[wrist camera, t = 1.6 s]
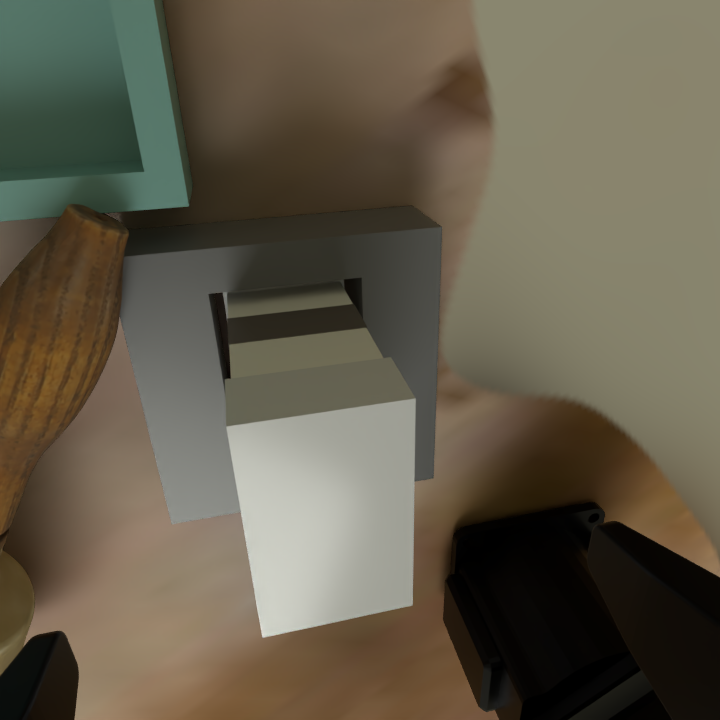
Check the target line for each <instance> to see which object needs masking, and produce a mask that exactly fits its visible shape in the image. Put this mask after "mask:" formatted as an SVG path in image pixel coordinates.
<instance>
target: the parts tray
mask: <svg viewBox="0 0 720 720" xmlns="http://www.w3.org/2000/svg"><path fill="white" fill-rule="evenodd" d="M192 188H193V183H192V177H191V171H190V165H189V159H188V153H187V147H186V140H185V134H184V128H183V122H182V116H181V110H180V104H179V98H178V92H177V86H176V80H175V74H174V68H173V62H172V56H171V50H170V44H169V38H168V31H167V25H166V19H165V13H164V7H163V1H162V0H0V221H12V220H25V219H37V218H50V217H61V215H62V213H63V212H64V210H65V209H66V207H67V205H69V204H80V205H84V206H87V207H89V208H91V209H93V210H95V211H97V212H99V213H112V212H125V211H137V210H150V209H162V208H175V207H188V206H189V204H190V199H191V193H192Z"/></svg>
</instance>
